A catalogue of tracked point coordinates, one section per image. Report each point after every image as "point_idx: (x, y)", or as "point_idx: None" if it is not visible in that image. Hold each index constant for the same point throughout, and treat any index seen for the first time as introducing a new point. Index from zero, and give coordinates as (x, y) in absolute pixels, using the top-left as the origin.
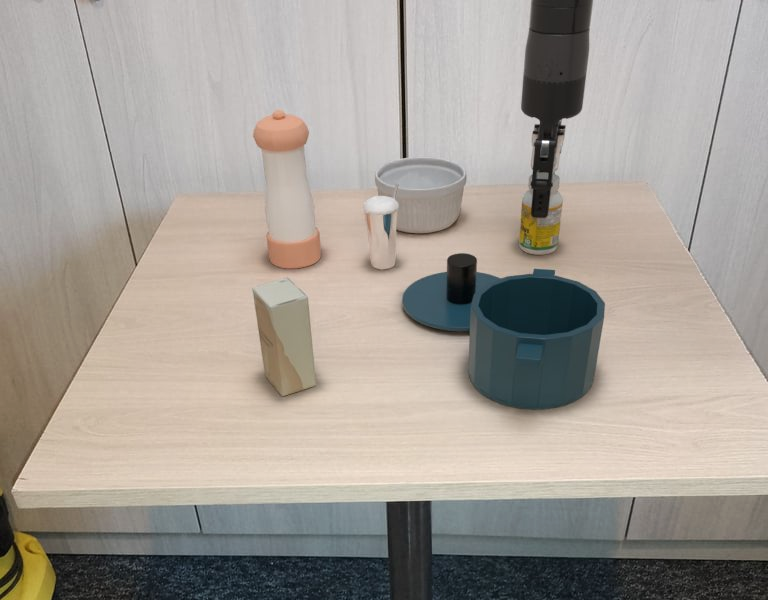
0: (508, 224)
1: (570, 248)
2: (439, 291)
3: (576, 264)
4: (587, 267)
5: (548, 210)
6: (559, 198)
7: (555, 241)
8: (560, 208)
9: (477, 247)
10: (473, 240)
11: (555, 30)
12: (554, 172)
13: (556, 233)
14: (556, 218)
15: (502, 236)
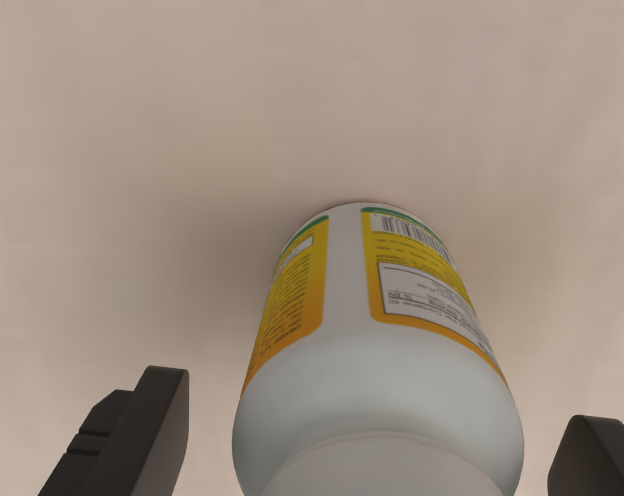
0: (133, 383)
1: (368, 133)
2: None
3: (558, 112)
4: (602, 55)
5: (615, 439)
6: (457, 381)
7: (430, 236)
8: (447, 322)
9: None
10: None
11: None
12: (133, 491)
13: (435, 254)
14: (463, 310)
15: None
